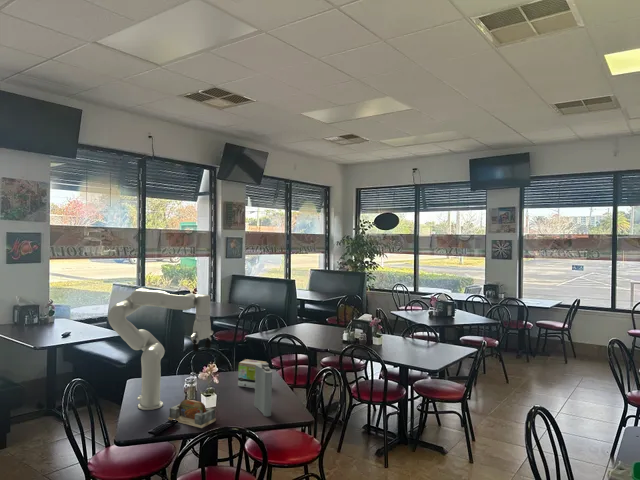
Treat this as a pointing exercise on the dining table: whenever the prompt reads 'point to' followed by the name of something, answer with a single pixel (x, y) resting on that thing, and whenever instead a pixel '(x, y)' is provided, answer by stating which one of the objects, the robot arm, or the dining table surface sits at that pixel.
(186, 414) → the tin
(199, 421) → the stand
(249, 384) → the retro computer
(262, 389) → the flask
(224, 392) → the dining table surface
